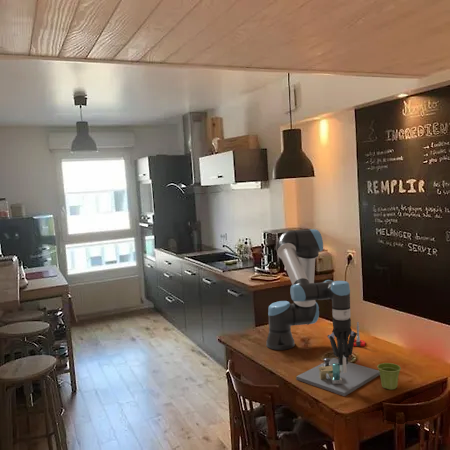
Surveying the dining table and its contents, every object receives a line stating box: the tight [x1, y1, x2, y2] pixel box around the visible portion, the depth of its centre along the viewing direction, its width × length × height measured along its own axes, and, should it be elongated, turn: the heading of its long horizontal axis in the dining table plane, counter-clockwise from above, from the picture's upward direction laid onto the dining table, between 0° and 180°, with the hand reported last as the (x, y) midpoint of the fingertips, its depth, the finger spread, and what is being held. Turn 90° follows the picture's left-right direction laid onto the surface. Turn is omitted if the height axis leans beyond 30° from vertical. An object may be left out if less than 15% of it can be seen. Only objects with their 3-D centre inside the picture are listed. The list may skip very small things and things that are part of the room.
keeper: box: [318, 366, 341, 380], centre depth 209 cm, size 5×8×4 cm, turn 93°
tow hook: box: [353, 321, 366, 347], centre depth 254 cm, size 8×13×9 cm
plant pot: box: [376, 362, 402, 390], centre depth 201 cm, size 9×9×9 cm
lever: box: [320, 357, 342, 384], centre depth 211 cm, size 19×5×8 cm, turn 3°
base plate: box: [295, 357, 380, 397], centre depth 213 cm, size 25×29×2 cm
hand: (343, 371), depth 203 cm, fingers closed
